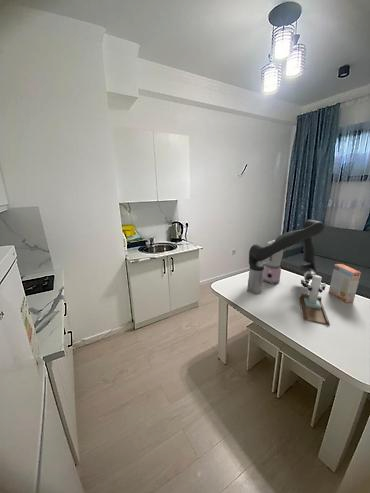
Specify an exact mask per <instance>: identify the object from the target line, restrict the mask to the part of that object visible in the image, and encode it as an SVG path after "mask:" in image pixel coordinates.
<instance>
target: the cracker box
mask: <svg viewBox="0 0 370 493" xmlns="http://www.w3.org/2000/svg"><path fill="white" fill-rule="evenodd" d="M361 275H362V272H361V271H360V270H357V269H355V268H352V267H350V266H348V265H345V264H343V263H335V264H334V266H333V270H332V275H331V279H330V284H329V287H328V293H329V294H331V295H333V296H334V297H335V298H337V299H338V300H340V301H342V302H343V303H345V304H348V303H351V304H352V303H354V301H355V298H356V293H357V290H358V286H359V282H360V278H361Z"/></svg>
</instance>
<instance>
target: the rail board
mask: <svg viewBox="0 0 370 493" xmlns="http://www.w3.org/2000/svg"><path fill="white" fill-rule="evenodd" d="M304 298H309V294H307V293H306V294H305V293H300V296H299V302H300V306H301V307H300V308H301V313H302V317H303V321H308V322H313V323H315V324H317V323H318V324H320V325H322V324H323V325H327V326H330V324H331V322H330V320H329V318H328V315H327V313H326V310H325V307H324V305H323V302H322V296H319V295H318V299H317V300H319V302H320V305H321V309H317V308H312V307H306V306H305V303H304Z"/></svg>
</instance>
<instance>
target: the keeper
mask: <svg viewBox="0 0 370 493" xmlns="http://www.w3.org/2000/svg"><path fill="white" fill-rule="evenodd" d="M322 278H323V277H322V276H320V275H317V274H316V275H313V277H312V282H311V288H312V289H311V291H310V290H309V293H308V295H309V298H304V303H305V306H306V307H312V308H317V309H321V305H320V302H319V300H317V299H318V296H319V293H320V292H319V289H320V284H321V283H322Z"/></svg>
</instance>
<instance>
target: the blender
mask: <svg viewBox="0 0 370 493" xmlns="http://www.w3.org/2000/svg"><path fill="white" fill-rule="evenodd" d="M275 240H276V239H273V240H269V241H267V243H266V246H268V245H271V244H272V243H274V241H275ZM283 253H284V249H283V250H281V251H279V252H277V253H275V254H274V255H272V256H270V257H269V258H267V259H265V265H264V272H263V282H264V283H266V282H267V283H271V285H276V284H278V283H280V280H281V273H282V269H281V262H282V258H283V255H284V254H283Z"/></svg>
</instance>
